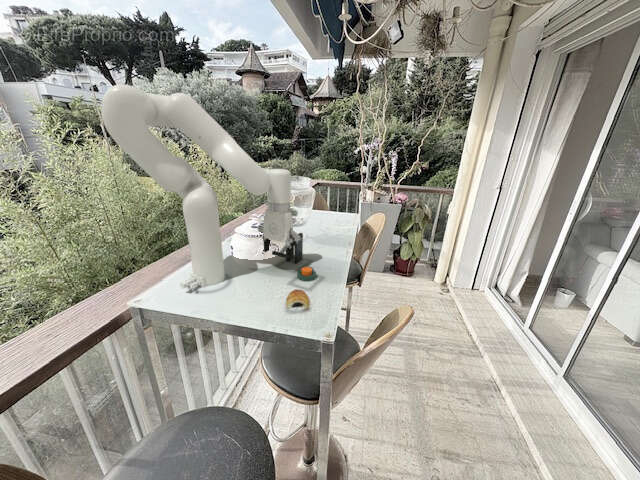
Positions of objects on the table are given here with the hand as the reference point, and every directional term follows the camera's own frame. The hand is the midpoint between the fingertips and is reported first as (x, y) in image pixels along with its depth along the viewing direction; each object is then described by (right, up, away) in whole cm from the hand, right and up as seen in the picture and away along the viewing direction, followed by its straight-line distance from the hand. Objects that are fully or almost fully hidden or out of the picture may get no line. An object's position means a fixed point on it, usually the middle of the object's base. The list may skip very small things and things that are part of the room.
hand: (278, 254), depth 95 cm
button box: (+10, -9, -2) cm, 14 cm away
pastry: (+8, -14, -15) cm, 23 cm away
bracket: (+5, -5, +11) cm, 12 cm away
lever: (+3, +2, +4) cm, 6 cm away
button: (+10, -7, -3) cm, 13 cm away
